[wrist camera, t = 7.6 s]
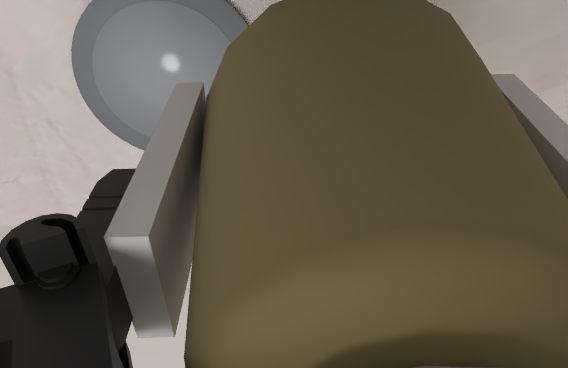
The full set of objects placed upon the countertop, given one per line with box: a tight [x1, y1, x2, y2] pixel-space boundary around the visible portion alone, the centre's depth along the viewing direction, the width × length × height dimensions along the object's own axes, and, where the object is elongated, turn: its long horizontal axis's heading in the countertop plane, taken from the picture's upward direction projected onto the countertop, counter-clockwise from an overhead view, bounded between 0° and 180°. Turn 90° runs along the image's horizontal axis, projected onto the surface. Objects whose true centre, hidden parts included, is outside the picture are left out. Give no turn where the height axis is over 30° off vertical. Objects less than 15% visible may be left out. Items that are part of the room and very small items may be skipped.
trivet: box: [71, 0, 248, 151], centre depth 35 cm, size 14×14×1 cm
